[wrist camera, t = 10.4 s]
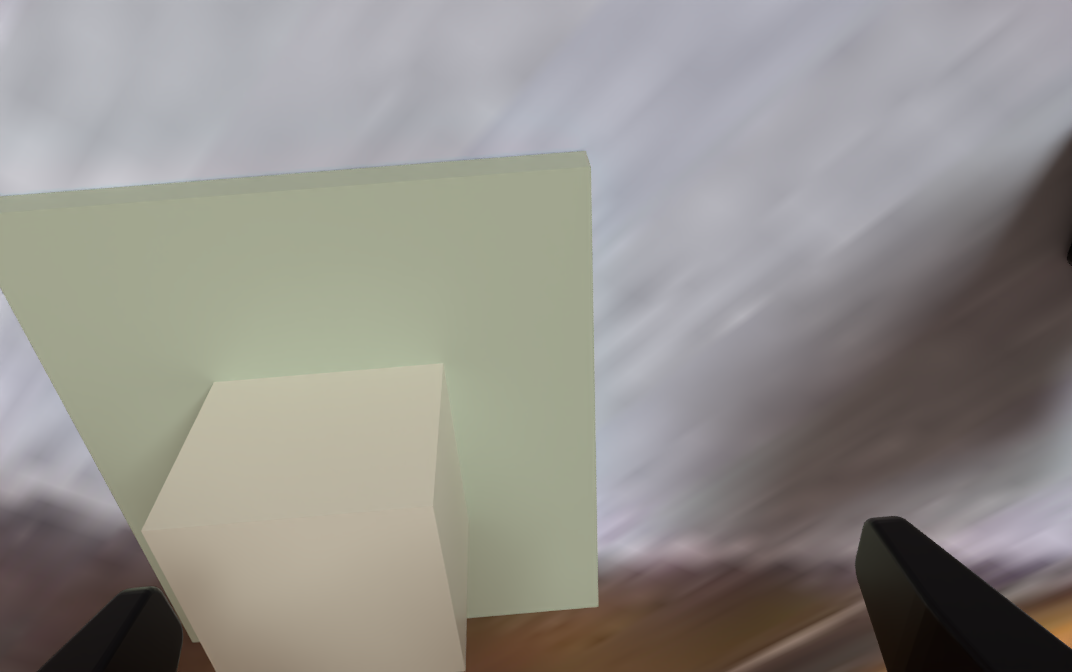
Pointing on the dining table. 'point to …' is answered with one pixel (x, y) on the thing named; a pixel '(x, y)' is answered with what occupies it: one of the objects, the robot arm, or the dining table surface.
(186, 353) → the stub plate
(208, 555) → the block
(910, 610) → the robot arm
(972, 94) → the dining table surface
